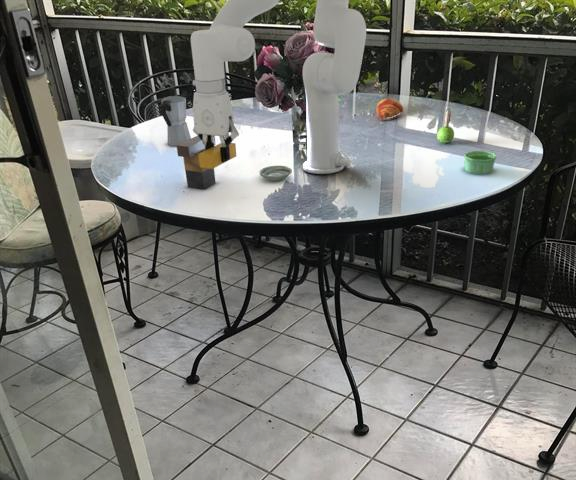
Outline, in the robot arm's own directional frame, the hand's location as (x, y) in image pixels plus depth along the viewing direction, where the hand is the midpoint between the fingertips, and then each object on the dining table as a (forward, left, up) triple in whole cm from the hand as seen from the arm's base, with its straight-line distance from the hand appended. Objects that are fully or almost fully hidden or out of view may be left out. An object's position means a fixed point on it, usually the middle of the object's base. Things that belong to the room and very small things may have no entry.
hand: (218, 159), depth 165 cm
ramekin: (-60, -47, -11) cm, 77 cm away
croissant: (-13, -98, -11) cm, 100 cm away
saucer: (-7, -19, -11) cm, 23 cm away
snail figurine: (-43, -70, -11) cm, 83 cm away
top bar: (0, 0, -1) cm, 1 cm away
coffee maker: (+44, -39, -11) cm, 60 cm away
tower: (+11, -6, -10) cm, 17 cm away
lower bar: (+11, -6, 0) cm, 13 cm away
